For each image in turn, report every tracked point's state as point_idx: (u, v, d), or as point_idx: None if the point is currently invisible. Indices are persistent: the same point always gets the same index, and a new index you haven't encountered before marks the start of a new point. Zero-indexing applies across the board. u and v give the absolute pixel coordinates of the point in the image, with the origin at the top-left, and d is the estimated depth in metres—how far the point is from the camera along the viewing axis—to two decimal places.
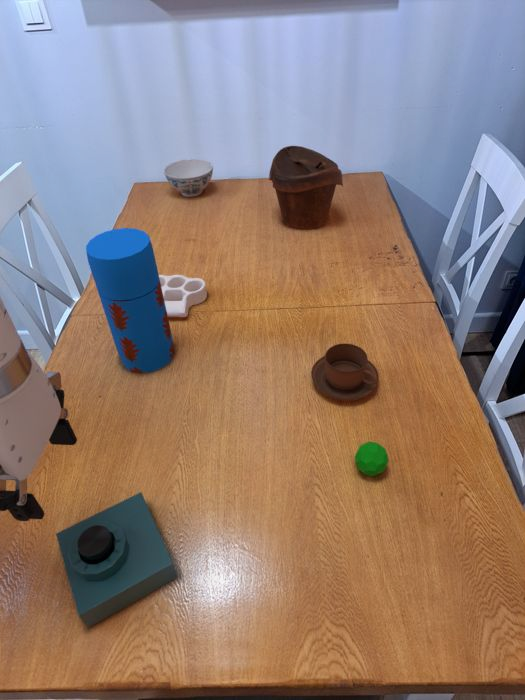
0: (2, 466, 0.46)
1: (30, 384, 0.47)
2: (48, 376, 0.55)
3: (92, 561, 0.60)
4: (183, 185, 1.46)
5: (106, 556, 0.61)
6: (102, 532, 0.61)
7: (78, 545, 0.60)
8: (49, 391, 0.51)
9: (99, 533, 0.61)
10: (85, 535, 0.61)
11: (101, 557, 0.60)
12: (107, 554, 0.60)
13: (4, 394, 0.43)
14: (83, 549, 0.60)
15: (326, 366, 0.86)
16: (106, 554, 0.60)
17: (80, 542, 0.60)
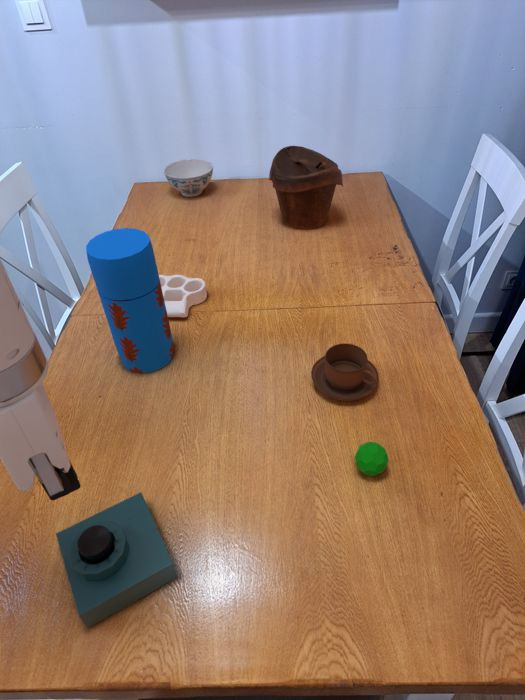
0: (50, 459, 0.43)
1: None
2: None
3: (92, 561, 0.60)
4: (183, 185, 1.46)
5: (106, 556, 0.61)
6: (102, 532, 0.61)
7: (78, 545, 0.60)
8: None
9: (99, 533, 0.61)
10: (85, 535, 0.61)
11: (101, 557, 0.60)
12: (107, 554, 0.60)
13: (38, 376, 0.40)
14: (83, 549, 0.60)
15: (326, 366, 0.86)
16: (106, 554, 0.60)
17: (80, 542, 0.60)
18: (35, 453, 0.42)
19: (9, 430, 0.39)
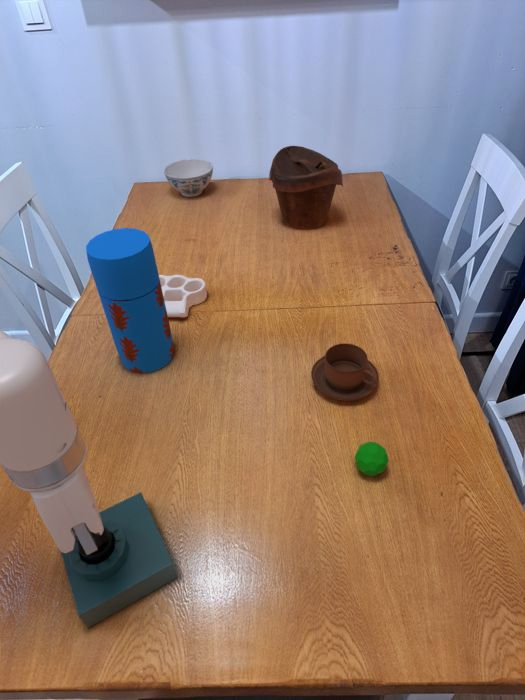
0: (88, 527, 0.51)
1: None
2: None
3: (93, 562, 0.60)
4: (183, 185, 1.46)
5: (107, 557, 0.61)
6: None
7: (79, 546, 0.60)
8: None
9: None
10: None
11: (101, 558, 0.60)
12: (108, 555, 0.61)
13: (80, 460, 0.48)
14: None
15: (326, 366, 0.86)
16: (107, 555, 0.60)
17: None
18: (76, 523, 0.49)
19: (56, 507, 0.47)
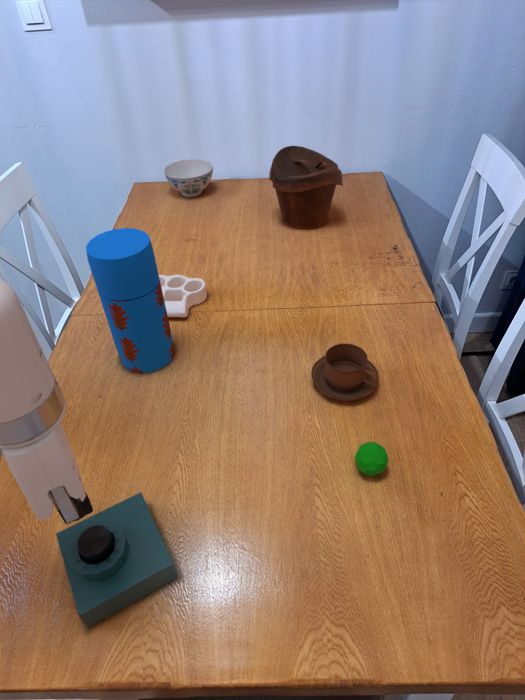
0: (68, 491, 0.46)
1: None
2: None
3: (92, 561, 0.60)
4: (183, 185, 1.46)
5: (106, 556, 0.61)
6: (102, 532, 0.61)
7: (78, 545, 0.60)
8: None
9: (99, 533, 0.61)
10: (85, 535, 0.61)
11: (101, 557, 0.60)
12: (107, 554, 0.60)
13: (58, 415, 0.44)
14: (83, 549, 0.60)
15: (326, 366, 0.86)
16: (106, 554, 0.60)
17: (80, 542, 0.60)
18: (54, 486, 0.45)
19: (31, 467, 0.43)
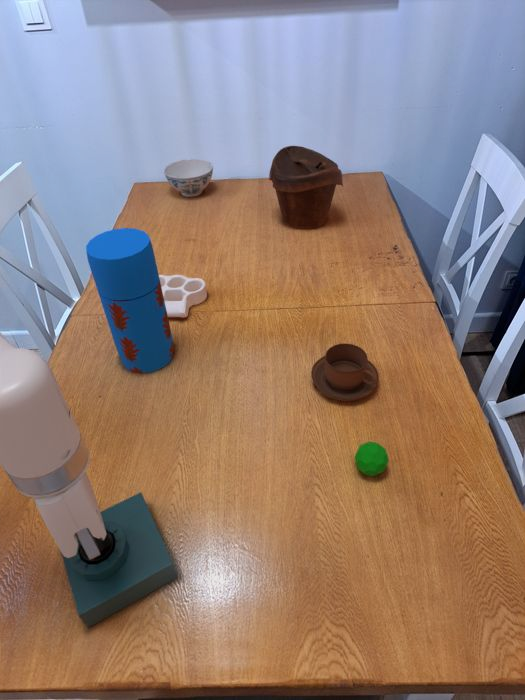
0: (91, 532, 0.51)
1: None
2: None
3: None
4: (183, 185, 1.46)
5: None
6: None
7: (81, 550, 0.61)
8: None
9: None
10: None
11: None
12: None
13: (83, 466, 0.49)
14: None
15: (326, 366, 0.86)
16: None
17: None
18: (80, 529, 0.50)
19: (60, 513, 0.48)
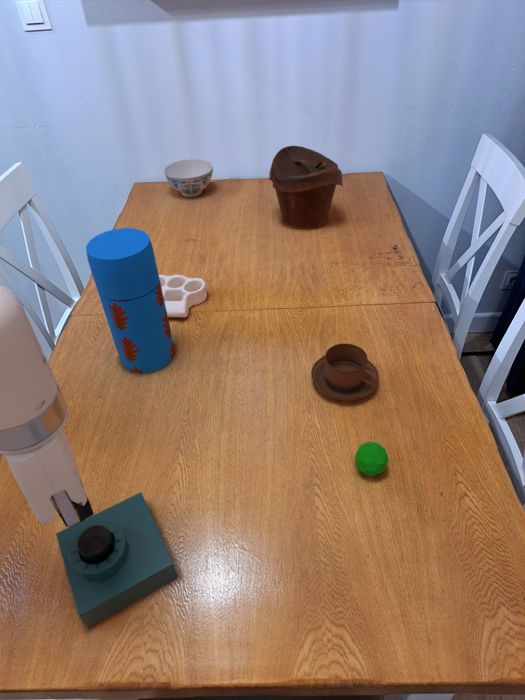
0: (70, 495, 0.47)
1: None
2: None
3: (92, 561, 0.60)
4: (183, 185, 1.46)
5: (106, 556, 0.61)
6: (102, 532, 0.61)
7: (78, 545, 0.60)
8: None
9: (99, 533, 0.61)
10: (85, 535, 0.61)
11: (101, 557, 0.60)
12: (107, 554, 0.60)
13: (61, 421, 0.44)
14: (83, 549, 0.60)
15: (326, 366, 0.86)
16: (106, 554, 0.60)
17: (80, 542, 0.60)
18: (56, 491, 0.46)
19: (34, 472, 0.43)
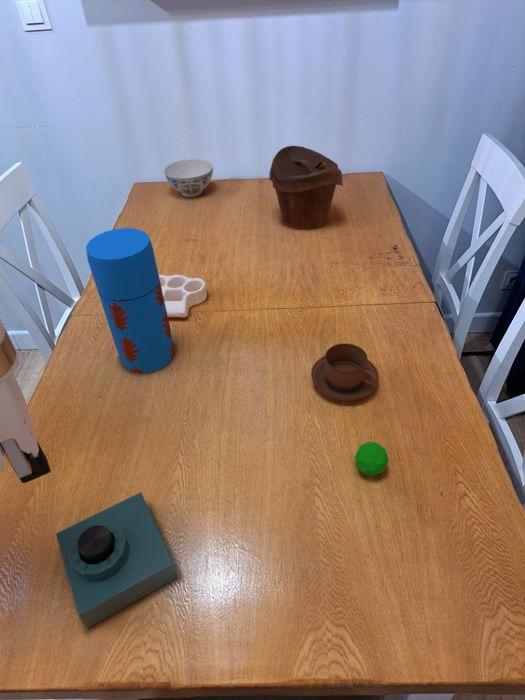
0: (19, 444, 0.47)
1: None
2: None
3: (92, 561, 0.60)
4: (183, 185, 1.46)
5: (106, 556, 0.61)
6: (102, 532, 0.61)
7: (78, 545, 0.60)
8: None
9: (99, 533, 0.61)
10: (85, 535, 0.61)
11: (101, 557, 0.60)
12: (107, 554, 0.60)
13: (8, 368, 0.44)
14: (83, 549, 0.60)
15: (326, 366, 0.86)
16: (106, 554, 0.60)
17: (80, 542, 0.60)
18: (4, 438, 0.45)
19: None
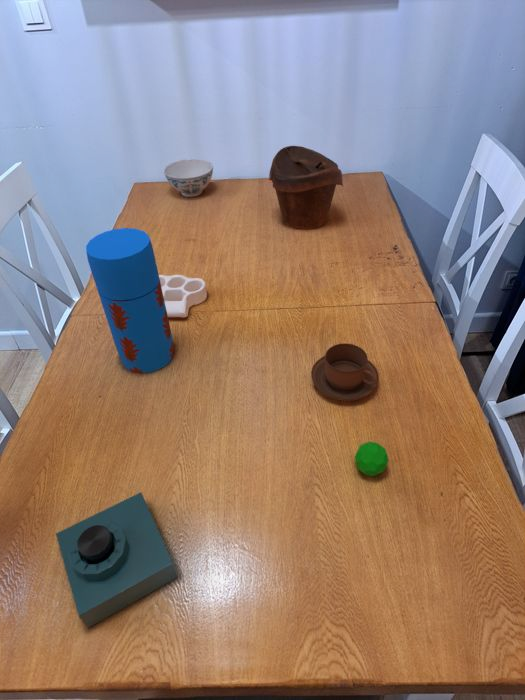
0: None
1: None
2: None
3: (92, 561, 0.60)
4: (183, 185, 1.46)
5: (106, 556, 0.61)
6: (102, 532, 0.61)
7: (78, 545, 0.60)
8: None
9: (99, 533, 0.61)
10: (85, 535, 0.61)
11: (101, 557, 0.60)
12: (107, 554, 0.60)
13: None
14: (83, 549, 0.60)
15: (326, 366, 0.86)
16: (106, 554, 0.60)
17: (80, 542, 0.60)
18: None
19: None
